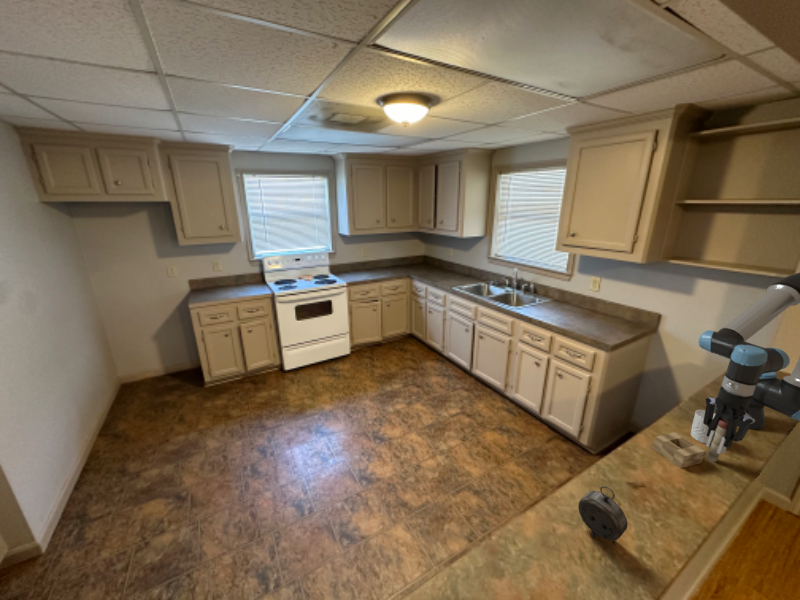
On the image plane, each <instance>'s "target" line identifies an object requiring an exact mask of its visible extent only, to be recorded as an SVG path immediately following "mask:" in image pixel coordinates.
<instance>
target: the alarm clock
mask: <svg viewBox="0 0 800 600" xmlns="http://www.w3.org/2000/svg"><path fill="white" fill-rule="evenodd" d="M603 488H604V489H605V488H606V489H608V490H609V491H611V493H612V497H610V496H608V495H607V494H605V493H603V490H602V489H603ZM599 489H600V491H597V490H590V491H587V492H586V493H585V495H584V496H583V497H582V498H581V499H580V500H579V502H578V506H577V507H578V512H579V515H580V518H581V520H582V521H583V522H584V524H585V525H586V526H587V527H588V529H590V531H591V532H592V533H591V534H590V535H591V538H592V539H594V538H595V535H596V536H598V537H600V538H602V539H604V540H607V541H611V542H612V544H613V545H614V546H616V545H617V542H616V541H617V540H619V539H620V538H621V537H622V536H623V534H624V533H625V532H626V531H627V529H628V519H627V517H626V514H625V513H624V511H623V509H622V507H620V505H619V504H618V503H617V502H616V501H615V500H614V499H615V495H616V494H615V492H614V491H613V489H611V488H610V487H609V486H606V485H602V486H600V488H599Z"/></svg>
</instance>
